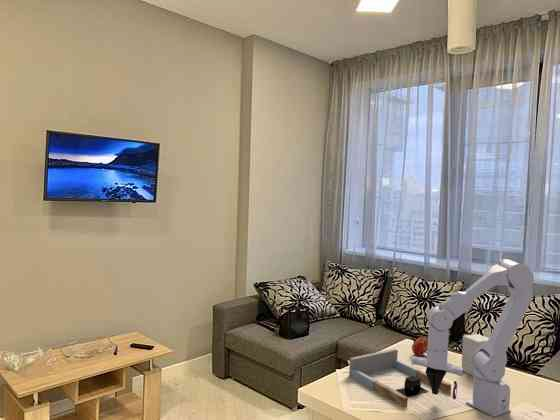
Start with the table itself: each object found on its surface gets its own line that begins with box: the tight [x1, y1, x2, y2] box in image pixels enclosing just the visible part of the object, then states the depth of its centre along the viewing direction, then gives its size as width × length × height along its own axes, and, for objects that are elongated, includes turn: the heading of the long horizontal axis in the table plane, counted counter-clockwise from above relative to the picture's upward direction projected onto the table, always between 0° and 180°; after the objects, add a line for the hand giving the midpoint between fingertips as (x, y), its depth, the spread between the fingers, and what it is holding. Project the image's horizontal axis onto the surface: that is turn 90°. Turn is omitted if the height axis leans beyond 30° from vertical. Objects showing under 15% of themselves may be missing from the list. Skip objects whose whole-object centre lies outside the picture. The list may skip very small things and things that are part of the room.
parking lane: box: [348, 348, 452, 408], centre depth 146 cm, size 24×21×6 cm
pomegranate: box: [411, 337, 428, 358], centre depth 171 cm, size 7×7×10 cm
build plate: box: [395, 375, 430, 398], centre depth 141 cm, size 12×7×5 cm, turn 118°
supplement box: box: [461, 333, 489, 377], centre depth 157 cm, size 7×7×13 cm
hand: (435, 393), depth 133 cm, fingers closed
